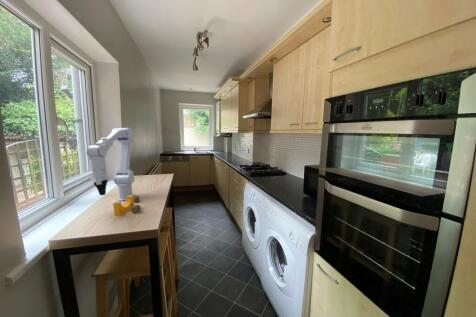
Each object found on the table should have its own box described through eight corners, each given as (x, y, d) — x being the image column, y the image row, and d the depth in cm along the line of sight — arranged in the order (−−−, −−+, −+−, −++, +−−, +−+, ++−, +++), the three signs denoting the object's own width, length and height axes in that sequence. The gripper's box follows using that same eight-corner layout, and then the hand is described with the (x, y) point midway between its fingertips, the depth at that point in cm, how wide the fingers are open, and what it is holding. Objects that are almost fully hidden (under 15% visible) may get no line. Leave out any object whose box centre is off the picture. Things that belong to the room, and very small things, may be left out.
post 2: (131, 211, 100) (131, 205, 99) (140, 209, 101) (139, 204, 101) (131, 213, 96) (131, 208, 96) (140, 212, 98) (140, 206, 98)
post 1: (131, 201, 113) (131, 196, 113) (139, 200, 115) (138, 195, 115) (131, 203, 110) (131, 198, 110) (139, 202, 112) (139, 197, 111)
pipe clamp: (127, 206, 107) (126, 195, 106) (134, 206, 106) (133, 195, 105) (111, 215, 95) (109, 203, 94) (119, 216, 94) (118, 203, 93)
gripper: (92, 167, 100) (95, 192, 102) (86, 172, 88) (90, 200, 90) (108, 166, 104) (111, 190, 106) (104, 170, 91) (108, 197, 93)
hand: (102, 194), depth 98 cm, fingers closed
